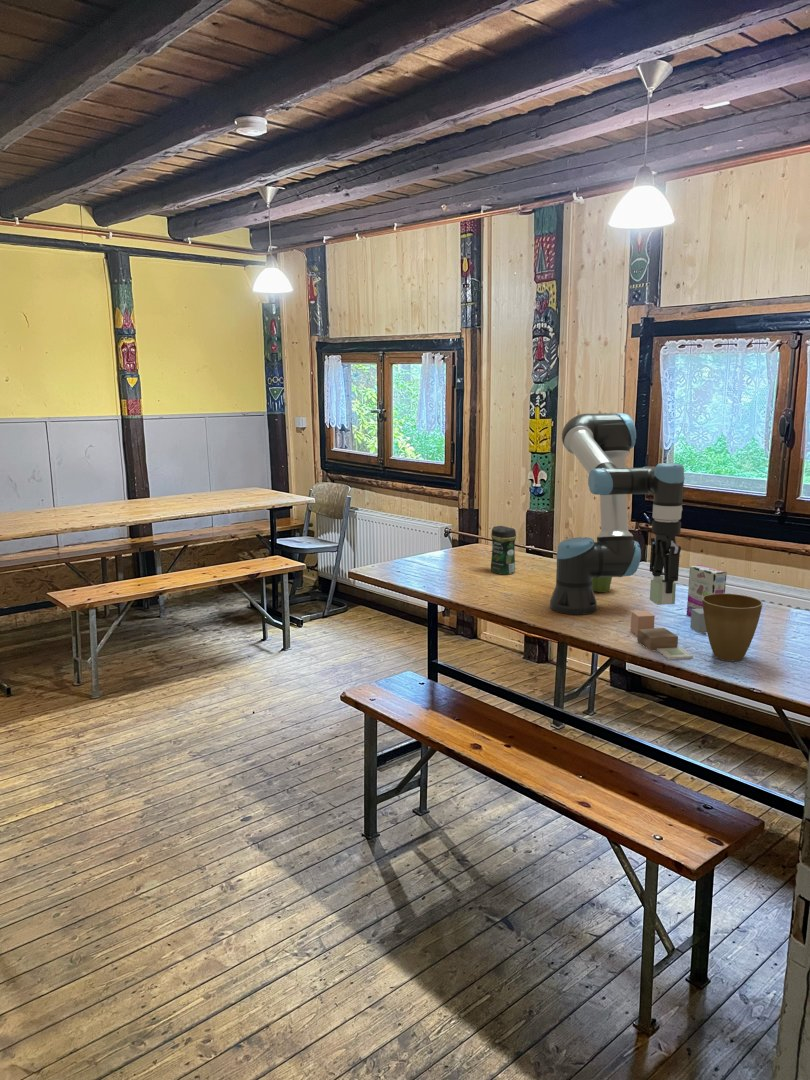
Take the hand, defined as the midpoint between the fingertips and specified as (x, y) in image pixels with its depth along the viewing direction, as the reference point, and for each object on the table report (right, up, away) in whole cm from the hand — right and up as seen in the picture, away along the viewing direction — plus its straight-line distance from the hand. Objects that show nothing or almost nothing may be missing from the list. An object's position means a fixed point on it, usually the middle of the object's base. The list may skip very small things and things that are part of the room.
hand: (661, 601), depth 212 cm
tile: (+2, -14, -5) cm, 15 cm away
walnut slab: (-1, -13, +2) cm, 13 cm away
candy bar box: (+22, -8, +26) cm, 35 cm away
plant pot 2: (+15, -15, -7) cm, 22 cm away
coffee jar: (-33, +4, +87) cm, 94 cm away
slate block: (+17, -10, +15) cm, 25 cm away
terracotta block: (-2, -11, +13) cm, 17 cm away
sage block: (0, 0, 0) cm, 0 cm away
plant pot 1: (-2, -1, +60) cm, 61 cm away
